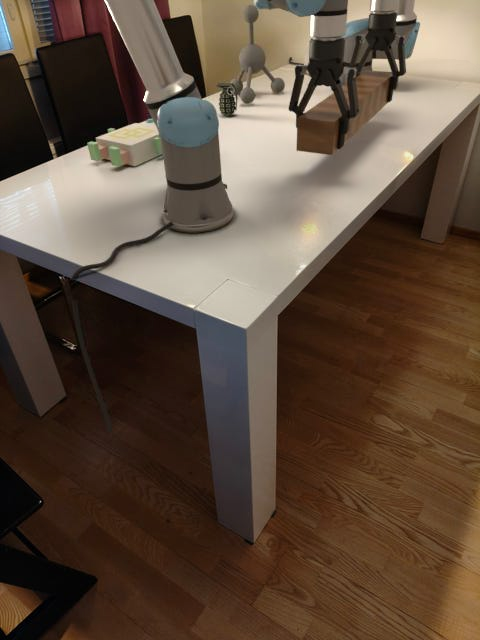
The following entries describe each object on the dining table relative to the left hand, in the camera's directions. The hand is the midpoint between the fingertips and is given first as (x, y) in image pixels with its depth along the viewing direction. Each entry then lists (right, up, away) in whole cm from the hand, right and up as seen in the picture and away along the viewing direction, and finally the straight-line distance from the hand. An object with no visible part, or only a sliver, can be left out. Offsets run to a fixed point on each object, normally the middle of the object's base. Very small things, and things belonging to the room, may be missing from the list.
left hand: (321, 144), depth 117 cm
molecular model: (-12, +44, +71) cm, 84 cm away
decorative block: (-49, +7, +26) cm, 56 cm away
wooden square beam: (+10, +12, +15) cm, 22 cm away
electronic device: (+16, +67, +98) cm, 119 cm away
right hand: (+21, +24, +30) cm, 44 cm away
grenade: (-24, +29, +52) cm, 64 cm away
